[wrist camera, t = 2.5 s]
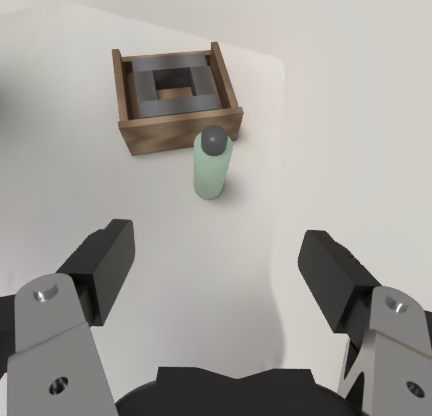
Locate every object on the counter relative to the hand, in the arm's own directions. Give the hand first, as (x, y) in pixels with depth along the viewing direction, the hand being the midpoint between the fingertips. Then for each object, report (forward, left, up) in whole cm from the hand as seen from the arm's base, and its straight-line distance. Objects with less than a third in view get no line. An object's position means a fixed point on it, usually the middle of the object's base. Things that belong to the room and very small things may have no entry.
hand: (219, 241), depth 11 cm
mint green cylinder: (+3, +11, -19) cm, 22 cm away
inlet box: (+1, +26, -19) cm, 33 cm away
